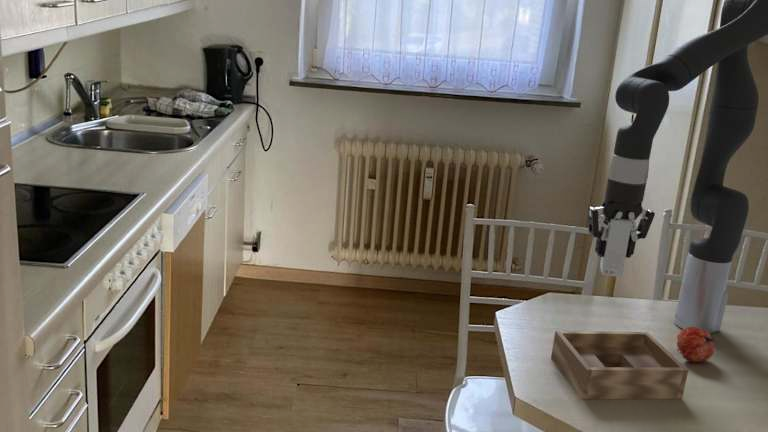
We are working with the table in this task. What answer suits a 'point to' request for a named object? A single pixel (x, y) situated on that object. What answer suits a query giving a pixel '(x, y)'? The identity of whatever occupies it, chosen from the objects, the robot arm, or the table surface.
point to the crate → (618, 365)
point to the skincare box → (616, 248)
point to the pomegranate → (695, 344)
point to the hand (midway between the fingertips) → (613, 255)
